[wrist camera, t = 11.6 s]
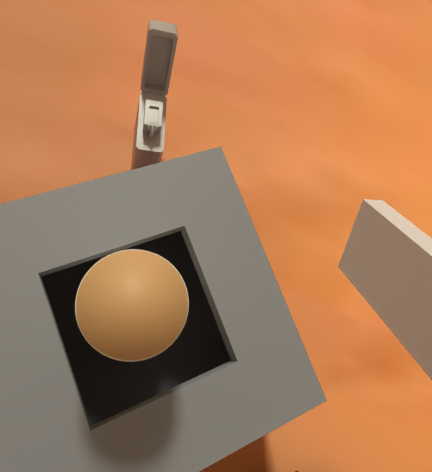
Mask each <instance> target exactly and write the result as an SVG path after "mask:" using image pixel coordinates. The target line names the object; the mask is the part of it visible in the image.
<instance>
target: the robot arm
mask: <svg viewBox="0 0 432 472" xmlns="http://www.w3.org/2000/svg"><path fill="white" fill-rule="evenodd" d="M338 267H339V268H340V269H341V270H342V272H343V273H344V274H345V275H346V277H347V278H348V279H349V280H350V281H351V283H352V284H353V285H354V286H355V287H356V289H357V290H358V291H359V292H360V294H361V295H362V296H363V297H364V298H365V300H366V301H367V302H368V303H369V304H370V306H371V307H372V308H373V309H374V311H375V312H376V313H377V314H378V315H379V317H380V318H381V319H382V320H383V321H384V323H385V324H386V325H387V326H388V327H389V329H390V330H391V331H392V332H393V334H394V335H395V336H396V337H397V338H398V340H399V341H400V342H401V343H402V344H403V346H404V347H405V348H406V349H407V351H408V352H409V353H410V354H411V355H412V357H413V358H414V359H415V360H416V361H417V363H418V364H419V365H420V366H421V368H422V369H423V370H424V371H425V372H426V374H427V375H428V376H429V377H430V378H431V380H432V238H430V237H429V236H428V235H426V234H425V233H424V232H422V231H421V230H420V229H419V228H417V227H416V226H415V225H413V224H412V223H411V222H410V221H408V220H407V219H406V218H404V217H403V216H402V215H401V214H399V213H398V212H397V211H395V210H394V209H393V208H392V207H390V206H389V205H388V204H386V203H385V202H384V201H383V200H367V199H363V201H362V204H361V207H360V209H359V212H358V215H357V218H356V220H355V223H354V226H353V228H352V231H351V234H350V236H349V239H348V242H347V244H346V247H345V250H344V252H343V255H342V258H341V260H340V263H339V266H338Z"/></svg>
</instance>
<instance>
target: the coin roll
mask: <svg viewBox="0 0 432 472" xmlns="http://www.w3.org/2000/svg"><path fill="white" fill-rule="evenodd" d="M188 310H189V298H188V292H187V288H186V285H185V282H184V280H183V278H182V276H181V275H180V273H179V272H178V270H177V269H176V268H175V267H174V266H173V265H172V264H171V263H170V262H169V261H167V260H166V259H164V258H163V257H161V256H159V255H157V254H155V253H152V252H149V251H145V250H137V249H130V250H122V251H118V252H115V253H112V254H110V255H108V256H106V257H104V258H102V259H101V260H99V261H98V262H97V263H95V264H94V265H93V266H92V267H91V268H90V269H89V271H88V272H87V273H86V274H85V276H84V278H83V279H82V281H81V283H80V285H79V288H78V291H77V294H76V300H75V315H76V320H77V324H78V327H79V329H80V331H81V333H82V335H83V336H84V338H85V340H86V341H87V342H88V343H89V344H90V345H91V346H92V347H93V348H94V349H95V350H96V351H98V352H99V353H101V354H102V355H104V356H107V357H109V358H111V359H115V360H119V361H125V362H134V361H142V360H146V359H149V358H152V357H154V356H156V355H158V354H160V353H162V352H163V351H165V350H166V349H167V348H168V347H169V346H171V345H172V344H173V343H174V341H175V340H176V339H177V338H178V336H179V335H180V333H181V332H182V330H183V328H184V325H185V323H186V320H187V316H188Z"/></svg>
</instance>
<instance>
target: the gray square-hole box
mask: <svg viewBox="0 0 432 472" xmlns="http://www.w3.org/2000/svg"><path fill="white" fill-rule="evenodd" d="M130 249H137V250H145V251H149V252H152V253H155V254H157V255H159V256H161V257H163V258H164V259H166V260H167V261H169V262H170V263H171V264H172V265H173V266H174V267H175V268H176V269H177V270H178V272H179V273H180V275H181V276H182V278H183V280H184V282H185V285H186V288H187V292H188V298H189V310H188V316H187V320H186V323H185V325H184V328H183V330H182V332H181V333H180V335H179V336H178V338H177V339H176V340H175V341H174V343H173V344H172V345H171V346H169V347H168V348H167V349H166V350H165V351H163V352H162V353H160V354H158V355H156V356H154V357H152V358H149V359H146V360H142V361H134V362H125V361H119V360H115V359H111V358H109V357H107V356H104V355H102V354H101V353H99V352H98V351H96V350H95V349H94V348H93V347H92V346H91V345H90V344H89V343H88V342H87V341H86V340H85V338H84V336H83V335H82V333H81V331H80V329H79V327H78V324H77V320H76V315H75V300H76V294H77V291H78V288H79V285H80V283H81V281H82V279H83V278H84V276H85V274H86V273H87V272H88V271H89V269H90V268H91V267H92V266H93V265H94V264H95V263H97V262H98V261H99V260H101V259H102V258H104V257H106V256H108V255H110V254H112V253H115V252H118V251H122V250H130ZM325 401H327V400H326V398H325V395H324V393H323V391H322V388H321V386H320V383H319V381H318V379H317V376H316V374H315V371H314V369H313V367H312V364H311V362H310V359H309V357H308V355H307V352H306V350H305V347H304V345H303V343H302V340H301V338H300V335H299V333H298V331H297V328H296V326H295V323H294V321H293V319H292V316H291V314H290V311H289V309H288V307H287V304H286V302H285V299H284V297H283V295H282V292H281V290H280V287H279V285H278V283H277V280H276V278H275V275H274V273H273V271H272V268H271V266H270V263H269V261H268V259H267V256H266V254H265V251H264V249H263V247H262V244H261V242H260V239H259V237H258V235H257V232H256V230H255V227H254V225H253V223H252V220H251V218H250V215H249V213H248V211H247V208H246V206H245V203H244V201H243V199H242V196H241V194H240V191H239V189H238V187H237V184H236V182H235V179H234V177H233V175H232V172H231V170H230V167H229V165H228V163H227V160H226V158H225V155H224V153H223V151H222V148H221V147H217V148H214V149H210V150H206V151H202V152H198V153H194V154H191V155H187V156H183V157H179V158H175V159H171V160H168V161H164V162H160V163H156V164H152V165H148V166H145V167H141V168H137V169H133V170H129V171H125V172H122V173H118V174H114V175H110V176H106V177H102V178H99V179H95V180H91V181H87V182H83V183H79V184H76V185H72V186H68V187H64V188H60V189H56V190H53V191H49V192H45V193H41V194H37V195H33V196H30V197H26V198H22V199H18V200H14V201H10V202H7V203H3V204H0V472H200V471H201V470H203V469H205V468H207V467H208V466H210V465H212V464H214V463H216V462H217V461H219V460H221V459H223V458H225V457H226V456H228V455H230V454H232V453H234V452H235V451H237V450H239V449H241V448H243V447H244V446H246V445H248V444H250V443H252V442H253V441H255V440H257V439H259V438H260V437H262V436H264V435H266V434H268V433H269V432H271V431H273V430H275V429H277V428H278V427H280V426H282V425H284V424H286V423H287V422H289V421H291V420H293V419H295V418H296V417H298V416H300V415H302V414H304V413H305V412H307V411H309V410H311V409H313V408H314V407H316V406H318V405H320V404H321V403H323V402H325Z"/></svg>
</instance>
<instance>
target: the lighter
mask: <svg viewBox="0 0 432 472" xmlns="http://www.w3.org/2000/svg"><path fill="white" fill-rule="evenodd" d="M177 39H178V34H177V27H176V26H175V24H171V23H167V22H162V21H158V20H153V19H152V20H150V21H149V24H148V31H147V39H146V47H145V54H144V62H143V69H142V77H141V90H142V91H143V92H142V93H141V94H140V99H139V105H138V111H137V116H136V122H135V130H134V142H133V154H132V166H131V170H133V169H137V168H141V167H145V166H148V165H152V164H156V163H159V162H160V159H161V156H162V153H163V149H164V133H165V117H166V101H167V98H166V97H165V95H167V93H168V87H169V82H170V76H171V71H172V66H173V60H174V55H175V50H176V44H177Z"/></svg>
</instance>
